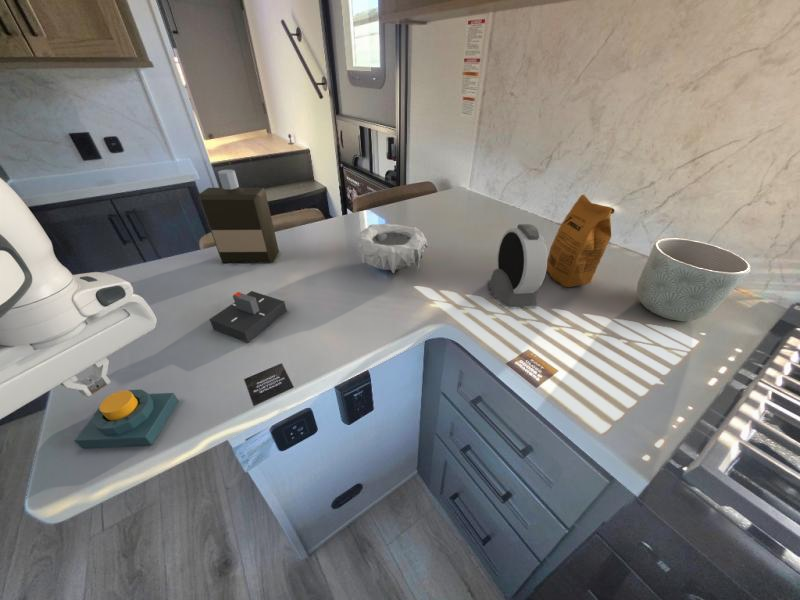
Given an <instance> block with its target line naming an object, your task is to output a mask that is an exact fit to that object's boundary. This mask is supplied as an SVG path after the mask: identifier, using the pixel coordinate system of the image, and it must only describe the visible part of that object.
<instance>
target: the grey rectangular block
mask: <svg viewBox="0 0 800 600" xmlns="http://www.w3.org/2000/svg"><path fill="white" fill-rule="evenodd" d="M232 299H233V301H234V302H235V304H236V307H237V309H240V310H243V311H245V312H248V313H251V314H256V313H257V312H258V311H259V307H258V304H257V301H256V298H255V297H251V296H248V295H246V294H245V293H242V292H240V291H237V292H236V293H234V294H233V295H232Z"/></svg>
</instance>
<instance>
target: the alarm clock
mask: <svg viewBox="0 0 800 600" xmlns="http://www.w3.org/2000/svg"><path fill="white" fill-rule="evenodd" d="M547 259H548V249H547V246H546V241H545V239H544V237H543V235H542V234H541V233H540V232H539V229H538V228H537V227H536V226H535V225H533V224H531V223H530V224H529V223H521V224H520V223H518V224H517V227H510V228H509V229H507V230H506V231H505V232H504V234H503V235H502V237H501V239H500V242H499V245H498V250H497V257H496V265H497V266H496V268H495V269H494V270H493V271H492V274H491V277H490V281H489V288H490V290H491V293H492V295H493V296H494V298H496V299H497V301H498V302H500V304H502V305H503V306H505V307H507V308H521V307H522V308H523V307H534V306H536V301H537V297H538V292H539V291H538V290H539V288H540V287H541V286H542V284H543V282H544V280H545V277H546V273H547V271H546V269H547Z"/></svg>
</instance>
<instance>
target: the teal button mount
mask: <svg viewBox="0 0 800 600" xmlns="http://www.w3.org/2000/svg"><path fill="white" fill-rule="evenodd" d="M127 391H130V392H131V393H132V394H133V395H134V397H135V398H136V399H137V401H138V406H137V408H136V410H135V411H134V412H132V413H131V414H130V415H128V416H127V417H125V418H122V419H120V420H117V421H110V420H108V419H107V418H106V417H105V416H104V415H103V414H102V412H101V411H100V410H99V407H98V408H97V409H96V411H95V412H93V414H92V418H90V420H89V421H88V423H87V424H86V425H85V426H84V427H83V429H81V430H80V432H79V434H78V435H77V436H76V437H75V438H74V440H73V441H74V443H75V444H77V445H78V446H79V448H81V449H101V448H122V447H123V448H124V447H143V446H145V447H146V446H153V444H154V443H155V441H156V439H157V438H158V436H159V435H160V433H161V431H162V429H163V428H164V426H165V424H166V422H167V421H168V419H169V418H170V416H171V414H172V413H173V411H174V410H175V408H176V406H177V404H178V403H179V399H178V397H177V396H176V394H175V393H174V392H162V393H159V392H158V393H148V392H146V391H145V390H144V389H128V390H127Z"/></svg>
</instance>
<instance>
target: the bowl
mask: <svg viewBox="0 0 800 600" xmlns="http://www.w3.org/2000/svg"><path fill="white" fill-rule="evenodd" d="M356 241H357V243H356V248H357V251H359V254H360V257H361V260H362V263H363V264H368V265H370V266H371V267H374V268H376V269H379V270H381V271H382V270H383V271H384V270H385V271H391V273H393V274H395V272H396V270H402V269H405V268H407V267H408V268H410V267H411V265H414V264H415V266H416V268H417V270H419V267H420V261H421V259H422V258H423V256H425V250H426V249H428V246H429V245H428V240H427V238H426V236H425V235H424V233H423V232H422V231H421V230H420V229H419V228H417V227H416V226H414V225H410V226H406V225H401V224H391V223H381V224H375V223H373V224H369V226H367V227H366V228H364V229H363V230H361V231H360V233H359V236H358V237H357V239H356Z"/></svg>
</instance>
